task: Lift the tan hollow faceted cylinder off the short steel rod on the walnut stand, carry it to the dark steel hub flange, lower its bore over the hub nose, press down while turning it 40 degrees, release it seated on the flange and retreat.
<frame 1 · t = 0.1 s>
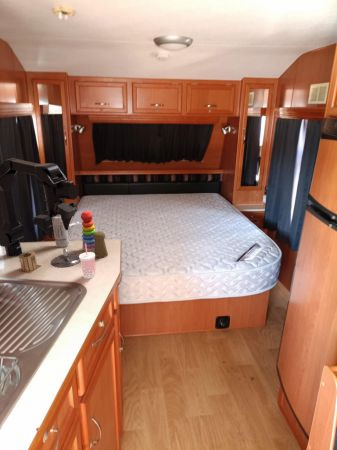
hand: (59, 234, 132), 15 cm above the countertop, fingers open, 9 cm apart
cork: (101, 255, 146), on the countertop
beverage cup: (89, 276, 130), on the countertop
hub: (67, 262, 141), on the countertop
stacking toy: (91, 249, 153), on the countertop
tan hollow faceted cylinder: (29, 268, 135), point 1 cm above the countertop, touching stand
stand: (30, 270, 135), on the countertop
energy drink can: (63, 246, 157), on the countertop
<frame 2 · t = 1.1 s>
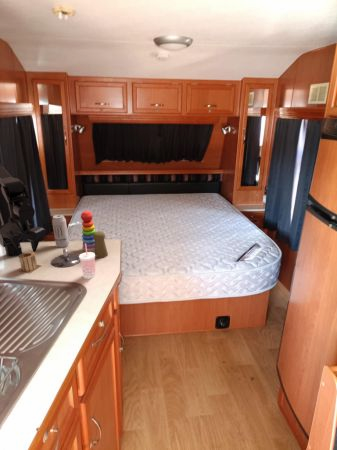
hand: (25, 250, 132), 9 cm above the countertop, fingers open, 9 cm apart
nothing on the countertop moved.
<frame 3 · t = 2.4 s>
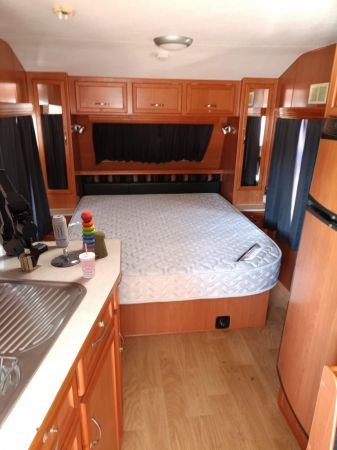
hand: (29, 265, 134), 2 cm above the countertop, fingers closed on tan hollow faceted cylinder, 6 cm apart
tan hollow faceted cylinder: (29, 268, 135), point 1 cm above the countertop, touching gripper, stand
everything else where it was.
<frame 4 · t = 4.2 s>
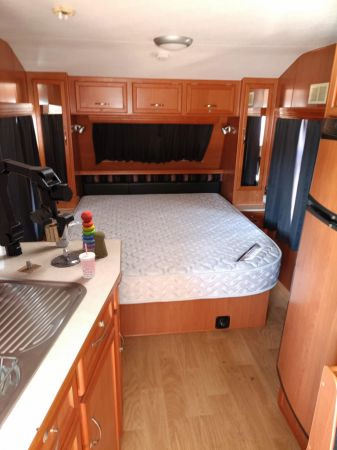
hand: (54, 236, 134), 13 cm above the countertop, fingers closed on tan hollow faceted cylinder, 6 cm apart
tan hollow faceted cylinder: (55, 239, 135), point 12 cm above the countertop, touching gripper
everything else where it was.
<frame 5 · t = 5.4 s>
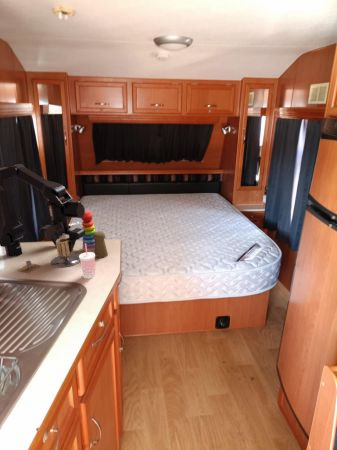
hand: (65, 250, 139), 6 cm above the countertop, fingers closed on tan hollow faceted cylinder, 6 cm apart
tan hollow faceted cylinder: (65, 253, 139), point 4 cm above the countertop, touching gripper
everything else where it was.
when the fingers open (3 cm above the countertop, at t = 6.4 s): tan hollow faceted cylinder stays where it is, resting on hub.
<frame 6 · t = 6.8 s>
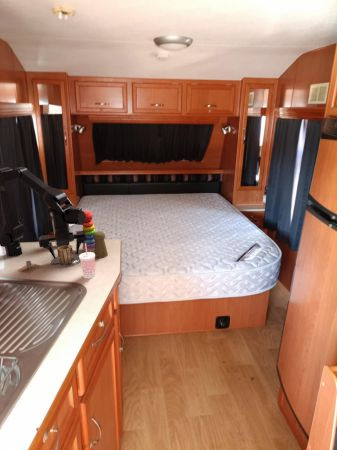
hand: (66, 256, 140), 3 cm above the countertop, fingers open, 9 cm apart
tan hollow faceted cylinder: (66, 260, 140), point 1 cm above the countertop, touching hub
everything else where it was.
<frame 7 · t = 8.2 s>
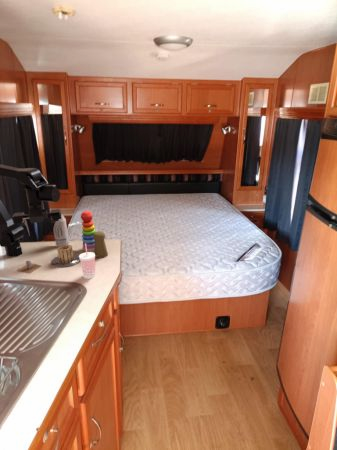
hand: (40, 234, 140), 12 cm above the countertop, fingers open, 9 cm apart
nothing on the countertop moved.
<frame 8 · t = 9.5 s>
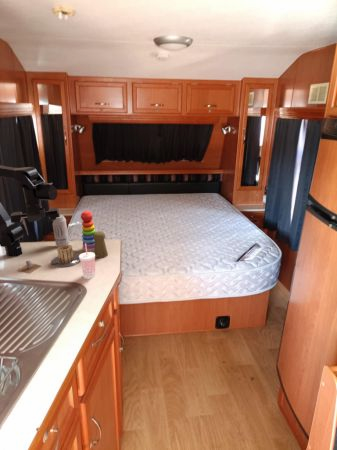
hand: (39, 233, 140), 12 cm above the countertop, fingers open, 9 cm apart
nothing on the countertop moved.
at the end: tan hollow faceted cylinder 0.1 cm off-centre on the hub, point 1.0 cm above the hub's base; tan hollow faceted cylinder tilted 0°; the gripper is holding nothing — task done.
